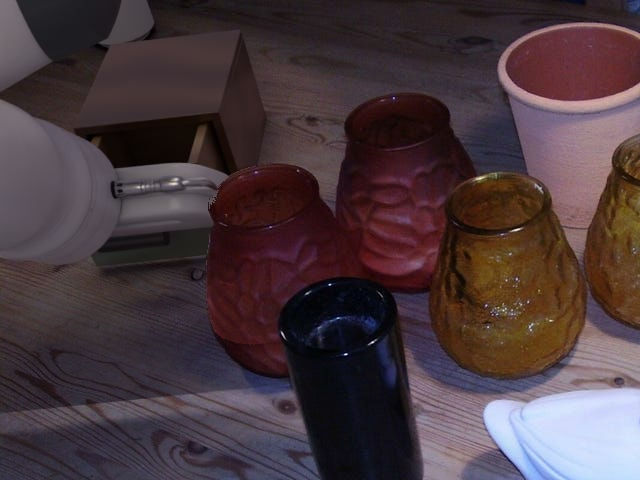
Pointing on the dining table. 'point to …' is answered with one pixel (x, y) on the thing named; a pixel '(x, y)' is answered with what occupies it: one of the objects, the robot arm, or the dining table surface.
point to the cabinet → (180, 91)
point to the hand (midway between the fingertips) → (128, 222)
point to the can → (130, 23)
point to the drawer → (151, 149)
